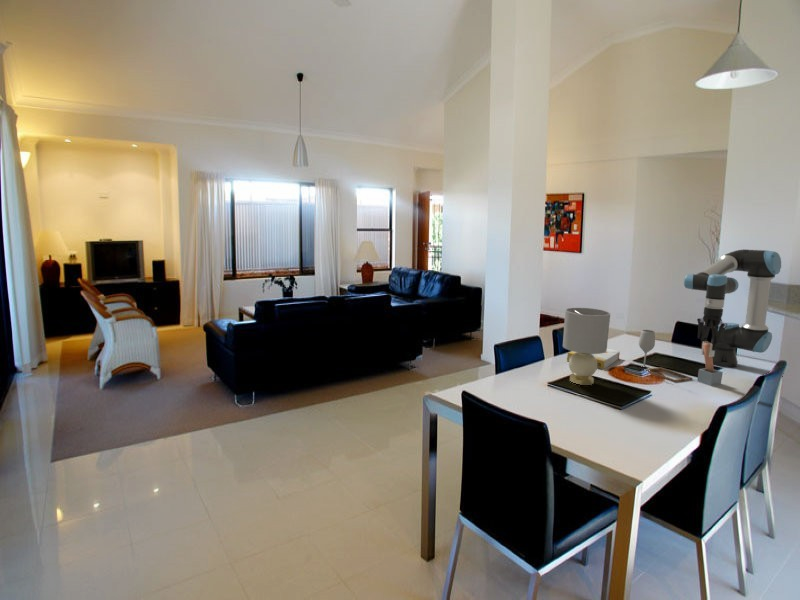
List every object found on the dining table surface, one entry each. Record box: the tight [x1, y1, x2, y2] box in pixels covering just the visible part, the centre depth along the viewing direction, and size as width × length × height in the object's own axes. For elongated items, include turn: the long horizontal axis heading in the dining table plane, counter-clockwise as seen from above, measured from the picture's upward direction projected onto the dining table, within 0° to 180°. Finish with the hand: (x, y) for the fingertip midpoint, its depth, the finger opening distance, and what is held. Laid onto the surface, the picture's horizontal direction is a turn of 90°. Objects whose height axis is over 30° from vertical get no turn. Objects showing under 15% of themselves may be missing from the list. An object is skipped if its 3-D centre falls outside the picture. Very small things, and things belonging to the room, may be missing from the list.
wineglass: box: [638, 329, 656, 367], centre depth 260 cm, size 8×8×21 cm
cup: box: [696, 367, 723, 387], centre depth 237 cm, size 7×7×8 cm
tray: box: [644, 366, 693, 386], centre depth 247 cm, size 12×18×2 cm, turn 22°
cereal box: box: [566, 348, 621, 370], centre depth 276 cm, size 20×6×28 cm
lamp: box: [562, 307, 611, 386], centre depth 235 cm, size 20×20×35 cm
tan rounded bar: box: [703, 341, 715, 373], centre depth 234 cm, size 8×3×16 cm, turn 112°
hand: (707, 355), depth 234 cm, fingers closed on tan rounded bar, 3 cm apart
